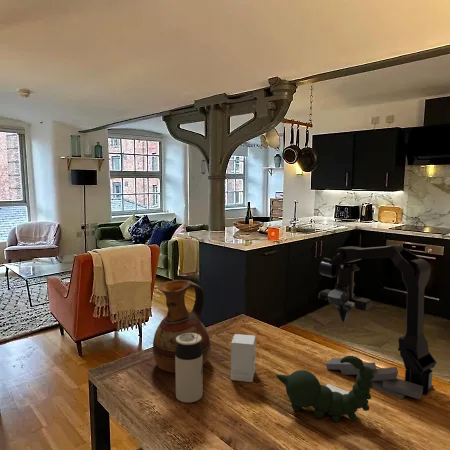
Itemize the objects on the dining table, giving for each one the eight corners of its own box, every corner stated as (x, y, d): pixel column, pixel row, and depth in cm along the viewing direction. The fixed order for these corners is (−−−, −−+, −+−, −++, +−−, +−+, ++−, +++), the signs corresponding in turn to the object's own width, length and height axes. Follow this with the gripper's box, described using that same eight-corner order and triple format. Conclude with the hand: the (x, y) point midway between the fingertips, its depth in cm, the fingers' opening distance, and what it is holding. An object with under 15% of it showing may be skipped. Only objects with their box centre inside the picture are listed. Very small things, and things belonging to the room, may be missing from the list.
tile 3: (367, 375, 119) (398, 372, 113) (363, 381, 114) (395, 379, 109) (365, 370, 119) (396, 366, 113) (361, 376, 115) (393, 373, 109)
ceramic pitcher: (142, 362, 127) (140, 279, 123) (188, 345, 140) (188, 270, 137) (174, 385, 112) (173, 292, 109) (222, 364, 126) (222, 280, 122)
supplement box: (253, 382, 114) (253, 344, 113) (230, 380, 116) (230, 342, 114) (255, 370, 121) (256, 335, 120) (234, 368, 123) (234, 333, 121)
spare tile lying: (359, 402, 105) (359, 396, 104) (352, 410, 101) (352, 404, 101) (327, 389, 112) (328, 383, 111) (319, 395, 108) (320, 390, 108)
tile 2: (346, 368, 123) (376, 367, 117) (342, 374, 119) (372, 374, 113) (345, 363, 123) (374, 362, 117) (340, 369, 119) (370, 368, 113)
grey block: (387, 381, 114) (422, 391, 107) (382, 387, 110) (419, 399, 103) (387, 375, 113) (423, 386, 107) (383, 382, 110) (419, 393, 103)
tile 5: (374, 382, 116) (407, 394, 109) (368, 388, 113) (402, 401, 106) (375, 376, 116) (408, 389, 109) (368, 382, 112) (402, 396, 105)
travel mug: (172, 402, 104) (171, 342, 102) (180, 386, 112) (179, 331, 110) (199, 405, 102) (198, 344, 100) (205, 389, 110) (205, 333, 108)
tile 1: (333, 363, 126) (360, 363, 119) (327, 369, 122) (355, 369, 116) (332, 358, 126) (359, 358, 120) (325, 364, 123) (353, 364, 116)
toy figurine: (364, 416, 100) (275, 393, 107) (374, 353, 98) (282, 333, 105) (366, 439, 91) (269, 412, 98) (377, 370, 89) (277, 347, 96)
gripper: (311, 279, 133) (309, 320, 135) (359, 290, 119) (357, 335, 121) (327, 274, 140) (325, 313, 142) (374, 284, 127) (372, 326, 129)
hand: (343, 321), depth 133 cm, fingers closed
